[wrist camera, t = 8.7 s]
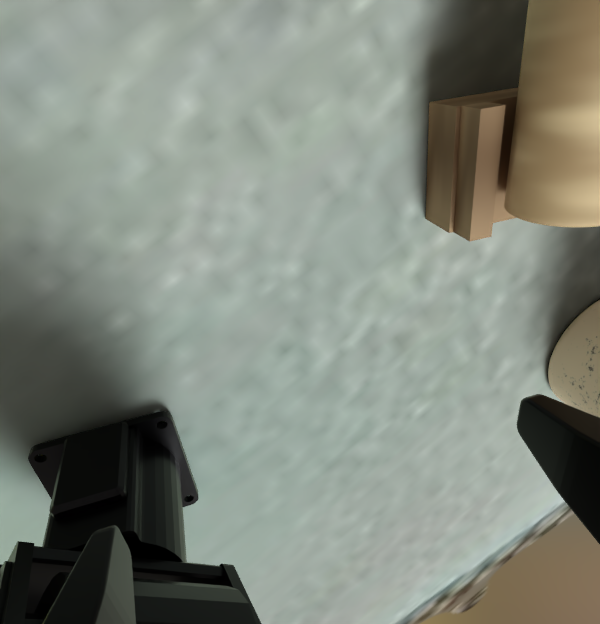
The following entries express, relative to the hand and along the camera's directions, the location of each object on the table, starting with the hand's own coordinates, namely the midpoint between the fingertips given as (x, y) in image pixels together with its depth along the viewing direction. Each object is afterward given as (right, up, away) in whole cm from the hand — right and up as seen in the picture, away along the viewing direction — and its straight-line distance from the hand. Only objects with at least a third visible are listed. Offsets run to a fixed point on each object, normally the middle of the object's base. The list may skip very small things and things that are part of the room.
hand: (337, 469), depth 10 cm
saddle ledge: (+9, +11, +11) cm, 18 cm away
